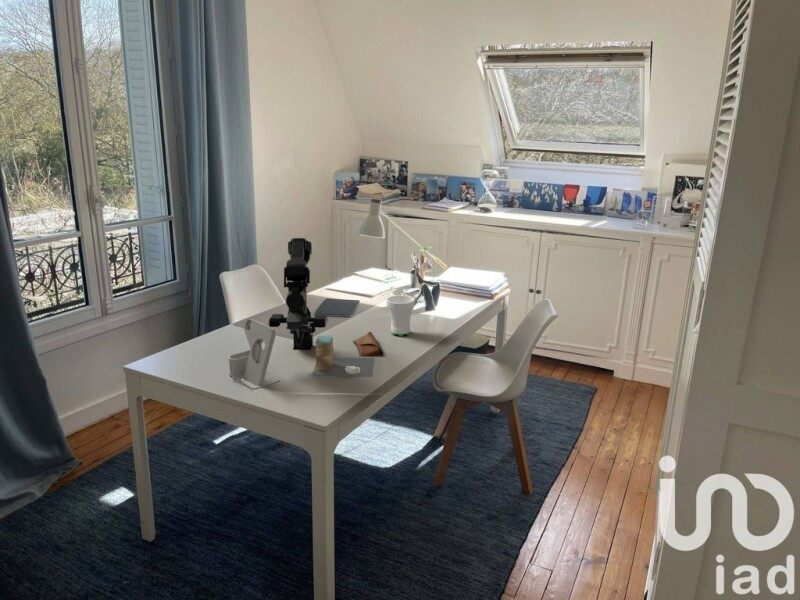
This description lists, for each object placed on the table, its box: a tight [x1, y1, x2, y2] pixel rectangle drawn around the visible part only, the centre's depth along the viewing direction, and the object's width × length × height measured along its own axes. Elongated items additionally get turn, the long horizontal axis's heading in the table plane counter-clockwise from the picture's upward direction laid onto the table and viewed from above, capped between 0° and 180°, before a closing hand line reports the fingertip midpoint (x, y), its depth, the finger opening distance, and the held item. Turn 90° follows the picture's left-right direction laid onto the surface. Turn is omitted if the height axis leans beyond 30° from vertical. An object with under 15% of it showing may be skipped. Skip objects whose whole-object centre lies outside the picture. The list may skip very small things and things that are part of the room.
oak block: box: [315, 335, 334, 370], centre depth 205 cm, size 5×6×10 cm
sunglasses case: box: [352, 331, 384, 358], centre depth 223 cm, size 18×7×7 cm, turn 14°
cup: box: [385, 294, 416, 337], centre depth 237 cm, size 11×11×14 cm
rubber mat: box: [311, 356, 375, 378], centre depth 206 cm, size 20×16×1 cm
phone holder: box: [228, 318, 280, 391], centre depth 195 cm, size 17×10×18 cm, turn 43°
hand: (299, 344), depth 204 cm, fingers closed
